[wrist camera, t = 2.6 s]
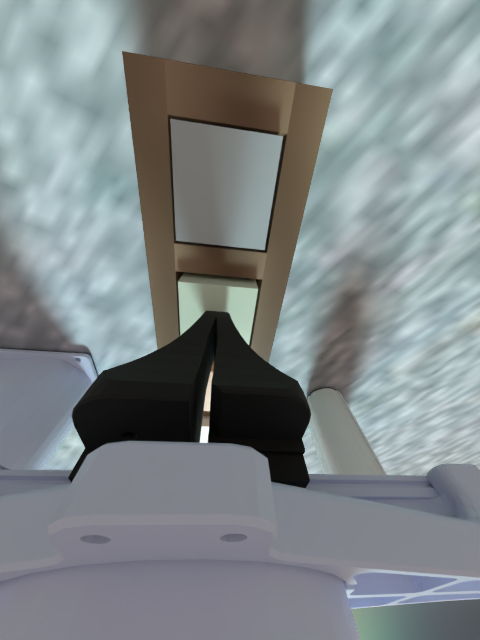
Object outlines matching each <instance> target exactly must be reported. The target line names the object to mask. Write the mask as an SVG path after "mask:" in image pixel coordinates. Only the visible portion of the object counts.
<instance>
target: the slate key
mask: <svg viewBox="0 0 480 640" xmlns="http://www.w3.org/2000/svg"><path fill="white" fill-rule="evenodd" d="M170 122H171V144H172V165H173V187H174V208H175V229H176V241H183V242H193V243H202V244H211V245H221V246H230V247H239V248H249V249H258V250H265V244H266V238H267V232H268V226H269V220H270V214H271V208H272V202H273V195H274V189H275V183H276V177H277V171H278V165H279V159H280V153H281V146H282V140H283V136H278V135H271V134H265V133H258V132H252V131H246V130H239V129H233V128H226V127H220V126H214V125H207V124H201V123H194V122H188V121H182V120H175V119H170Z"/></svg>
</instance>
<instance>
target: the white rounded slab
mask: <svg viewBox="0 0 480 640" xmlns="http://www.w3.org/2000/svg"><path fill="white" fill-rule="evenodd" d="M307 402H308V404H309V407H310V411H311V418H310V422H309V426H310V432H311V437H312V440H313V443H314V446H315V449H316V452H317V455H318V458H319V461H320V464H321V467H322V470H323V473H324V474H340V475H387V474H386V472H385V471H384V469H383V467H382V465H381V464H380V462H379V460H378V458H377V456H376V455H375V453H374V451H373V449H372V448H371V446H370V444H369V442H368V440H367V439H366V437H365V435H364V433H363V432H362V430H361V428H360V426H359V424H358V423H357V421H356V419H355V417H354V416H353V414H352V412H351V410H350V409H349V407H348V405H347V403H346V402H345V400H344V398H343V396H342V395H341V393H340V392H339V391H338V390H336V391H335V390H334V389H331V388H324V389H319V390H316V391H314V392H313V393H311V395H310V396H308V400H307Z"/></svg>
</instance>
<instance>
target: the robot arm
mask: <svg viewBox="0 0 480 640" xmlns="http://www.w3.org/2000/svg"><path fill="white" fill-rule="evenodd" d="M79 358H80V359H79ZM213 358H214V370H213V377H212V383H211V400H210V419H209V433H208V443H200V436H201V427H202V419H203V411H204V402H205V395H206V389H207V385H208V380H209V376H210V372H211V367H212V363H213ZM310 418H311V411H310V407H309V404H308V402H307V399H306V397H305V395H304V392H303V391H302V389H301V387H300V385H299V383H298V381H296V380H295V379H293V378H291V377H289V376H288V375H286V374H284V373H282V372H281V371H279V370H277V369H276V368H275V367H273V366H272V365H270V364H269V363H268V362H266V361H265V360H264V359H263V358H261V357H260V356H259V355H258V354H257V353H256V352H255V351H254V350H253V349H252V348H251V347H250V346H249V345H248V344H247V343H246V341H245V340H244V339H243V337H242V336H241V335H240V333H239V331H238V330H237V328H236V327H235V325H234V323H233V321H232V319H231V316H230V314H229V313H228V312H219V311H205V312H204V313H203V314H202V316H201V317H200V318H199V319H198V320H197V321H196V322H195V323H194V324H193V325H192V326H191V327H190V328H189V329H188V330H186V331H185V332H184V333H183V334H182V335H180V336H179V337H178V338H176V339H175V340H174V341H172V342H171V343H169V344H167V345H165V346H164V347H162V348H160V349H158V350H156V351H154V352H152V353H150V354H148V355H146V356H144V357H141V358H139V359H137V360H134V361H132V362H129V363H126V364H123V365H120V366H117V367H114V368H111V369H108V370H105V371H103V372H102V373H101V374H100V375H99V376H98V377H97V374H96V371H95V368H94V365H93V362H92V359H91V357H90V356H89V355H88V354H82V353H65V352H48V351H31V350H14V349H0V640H360V638H359V635H358V631H357V628H356V624H355V621H354V618H353V614H352V611H351V609H355V608H366V607H377V606H389V605H400V604H413V603H424V602H437V601H450V600H467V599H480V470H479V469H478V468H477V467H476V466H475V465H472V464H441V465H438V466H436V467H434V468H432V469H431V470H430V471H429V472H428V473H427V475H426V476H407V475H340V474H308V471H307V468H306V464H305V460H304V457H303V454H304V452H305V448H304V444H303V441H302V437H303V435H304V433H305V430H306V428H307V426H308V424H309V422H310ZM73 425H74V426H75V428H76V430H77V432H78V434H79V436H80V438H81V440H82V442H83V444H84V446H85V450H84V452H83V453H82V455H81V457H80V458H79V460H78V462H77V463H76V465H75V467H74V468H73V470H72V471H70V470H42V469H43V468H44V467H45V465H46V464H47V462H48V461H49V459H50V458H51V457H52V455H53V454H54V452H55V451H56V450H57V448H58V447H59V445H60V444H61V442H62V441H63V440H64V438H65V437H66V435H67V434H68V433H69V431H70V430H71V428H72V427H73Z"/></svg>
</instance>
